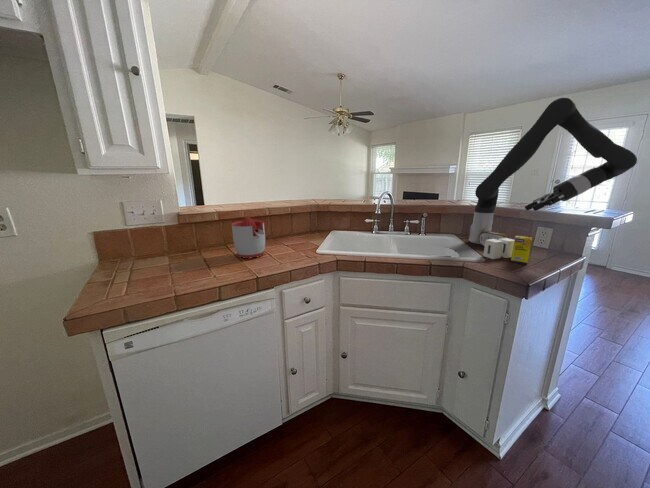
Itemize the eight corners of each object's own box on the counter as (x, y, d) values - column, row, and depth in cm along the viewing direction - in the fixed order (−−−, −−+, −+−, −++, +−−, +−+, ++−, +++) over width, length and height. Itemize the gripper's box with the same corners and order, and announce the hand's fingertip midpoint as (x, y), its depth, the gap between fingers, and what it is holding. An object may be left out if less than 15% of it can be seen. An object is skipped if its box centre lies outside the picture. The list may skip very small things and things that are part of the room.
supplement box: (527, 264, 110) (532, 240, 107) (510, 262, 113) (514, 238, 110) (527, 260, 114) (532, 237, 111) (510, 258, 118) (515, 235, 115)
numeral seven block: (495, 254, 123) (498, 238, 121) (503, 253, 125) (506, 237, 122) (505, 258, 118) (508, 241, 116) (513, 256, 120) (516, 240, 118)
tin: (510, 251, 129) (513, 234, 126) (507, 252, 127) (510, 235, 125) (479, 244, 141) (481, 229, 139) (476, 245, 139) (478, 230, 137)
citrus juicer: (250, 263, 116) (245, 220, 111) (228, 257, 127) (223, 217, 121) (276, 255, 128) (273, 215, 123) (254, 249, 139) (250, 212, 133)
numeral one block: (482, 256, 122) (485, 239, 119) (490, 254, 123) (493, 238, 121) (492, 259, 117) (495, 242, 115) (500, 257, 119) (503, 241, 117)
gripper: (558, 181, 113) (518, 201, 119) (576, 178, 100) (531, 201, 106) (567, 196, 113) (527, 215, 119) (587, 195, 100) (541, 216, 106)
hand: (529, 208), depth 113 cm, fingers open, 8 cm apart
